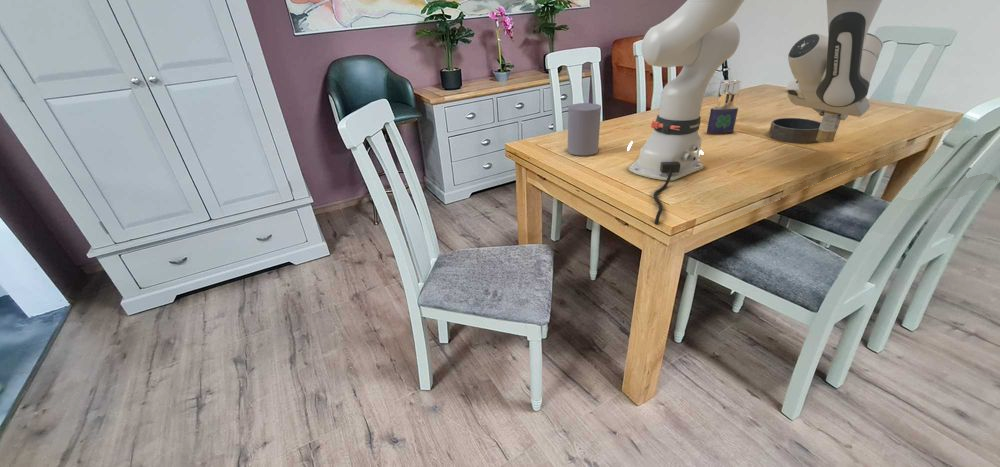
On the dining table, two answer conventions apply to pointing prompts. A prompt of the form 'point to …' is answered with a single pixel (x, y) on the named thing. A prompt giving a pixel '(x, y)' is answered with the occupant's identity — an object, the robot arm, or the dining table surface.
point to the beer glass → (728, 93)
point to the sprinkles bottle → (828, 127)
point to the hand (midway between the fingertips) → (833, 116)
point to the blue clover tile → (722, 120)
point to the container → (583, 129)
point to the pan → (794, 130)
